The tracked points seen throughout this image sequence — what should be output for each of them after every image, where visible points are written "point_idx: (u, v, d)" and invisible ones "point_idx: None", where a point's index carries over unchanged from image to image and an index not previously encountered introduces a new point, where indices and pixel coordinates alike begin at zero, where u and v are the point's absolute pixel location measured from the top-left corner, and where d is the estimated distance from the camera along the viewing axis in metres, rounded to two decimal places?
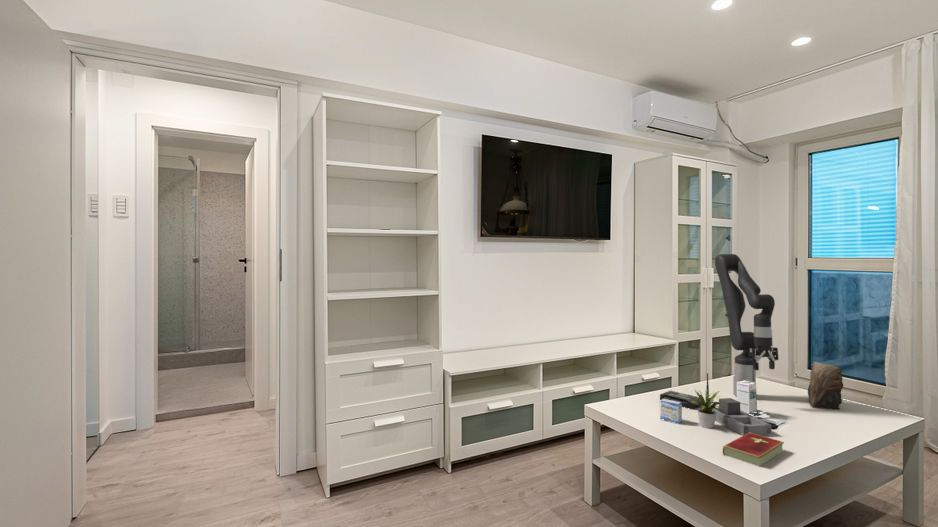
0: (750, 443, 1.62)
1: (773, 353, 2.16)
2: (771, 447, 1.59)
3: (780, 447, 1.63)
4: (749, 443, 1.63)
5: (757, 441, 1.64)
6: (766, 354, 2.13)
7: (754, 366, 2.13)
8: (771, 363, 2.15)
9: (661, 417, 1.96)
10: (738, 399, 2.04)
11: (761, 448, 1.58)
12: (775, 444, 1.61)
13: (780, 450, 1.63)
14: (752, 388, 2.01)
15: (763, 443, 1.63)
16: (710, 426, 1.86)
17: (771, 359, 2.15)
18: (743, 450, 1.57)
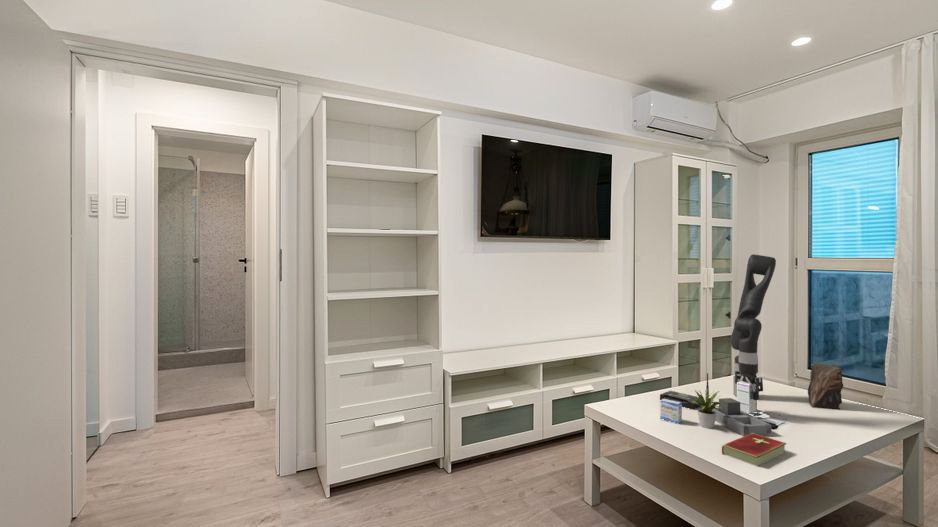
0: (750, 443, 1.62)
1: (738, 377, 2.09)
2: (771, 447, 1.59)
3: (782, 448, 1.62)
4: (749, 443, 1.63)
5: (758, 441, 1.64)
6: None
7: (757, 396, 1.98)
8: None
9: (661, 417, 1.96)
10: (738, 399, 2.04)
11: (761, 449, 1.58)
12: (776, 445, 1.61)
13: (782, 451, 1.62)
14: None
15: (764, 443, 1.62)
16: (710, 426, 1.86)
17: None
18: (741, 450, 1.57)
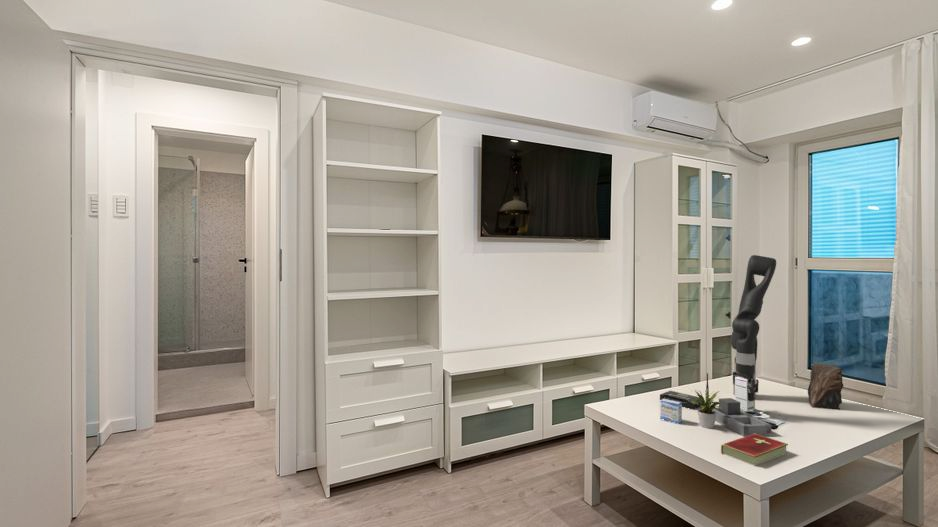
0: (750, 444, 1.62)
1: None
2: (771, 448, 1.59)
3: (783, 449, 1.61)
4: (749, 443, 1.63)
5: (759, 442, 1.63)
6: None
7: (752, 397, 2.00)
8: None
9: (661, 417, 1.96)
10: (736, 394, 2.05)
11: (761, 449, 1.58)
12: (777, 446, 1.60)
13: (783, 452, 1.61)
14: (750, 384, 2.02)
15: (765, 444, 1.62)
16: (710, 426, 1.86)
17: None
18: (740, 449, 1.58)
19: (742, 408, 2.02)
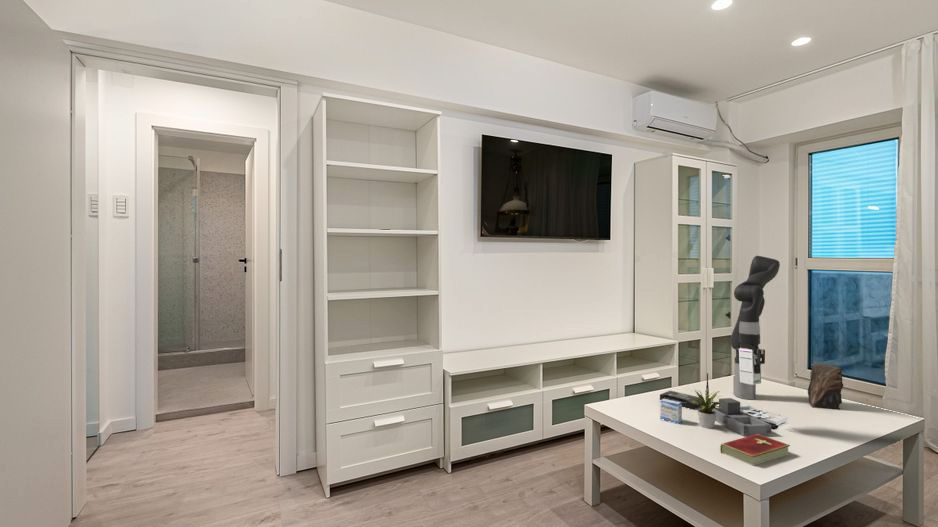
0: (751, 444, 1.62)
1: None
2: (771, 448, 1.58)
3: (785, 450, 1.61)
4: (750, 443, 1.63)
5: (760, 442, 1.63)
6: None
7: (758, 369, 1.84)
8: None
9: (661, 417, 1.96)
10: (741, 367, 1.89)
11: (760, 449, 1.58)
12: (778, 446, 1.60)
13: (785, 453, 1.61)
14: (756, 355, 1.86)
15: (765, 444, 1.61)
16: (710, 426, 1.86)
17: None
18: (739, 449, 1.58)
19: (748, 382, 1.87)
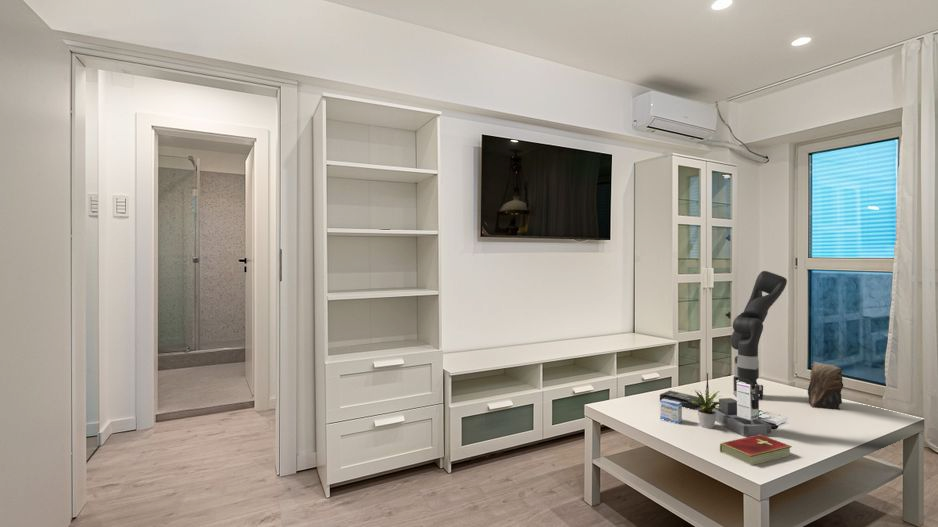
0: (751, 444, 1.62)
1: None
2: (772, 449, 1.58)
3: (786, 451, 1.60)
4: (750, 443, 1.63)
5: (760, 442, 1.63)
6: None
7: (756, 405, 1.79)
8: None
9: (661, 417, 1.96)
10: (738, 401, 1.84)
11: (760, 449, 1.58)
12: (779, 447, 1.59)
13: (786, 454, 1.60)
14: (754, 390, 1.81)
15: (766, 445, 1.61)
16: (710, 426, 1.86)
17: None
18: (738, 448, 1.58)
19: (745, 417, 1.82)
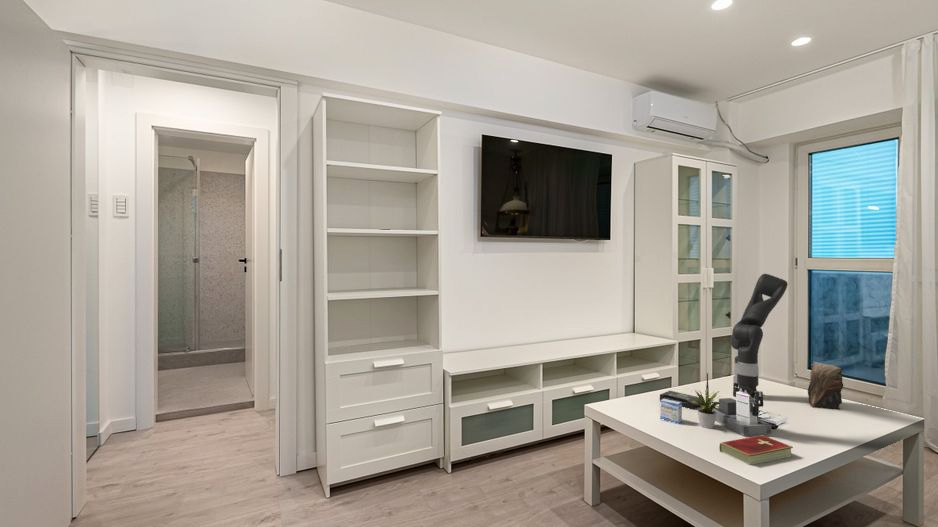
0: (751, 444, 1.62)
1: (737, 390, 1.89)
2: (772, 449, 1.58)
3: (787, 451, 1.59)
4: (750, 443, 1.63)
5: (761, 443, 1.62)
6: None
7: (757, 412, 1.79)
8: None
9: (661, 417, 1.96)
10: (737, 411, 1.85)
11: (760, 449, 1.58)
12: (779, 448, 1.59)
13: (787, 454, 1.59)
14: None
15: (767, 445, 1.61)
16: (710, 426, 1.86)
17: None
18: (737, 448, 1.59)
19: None
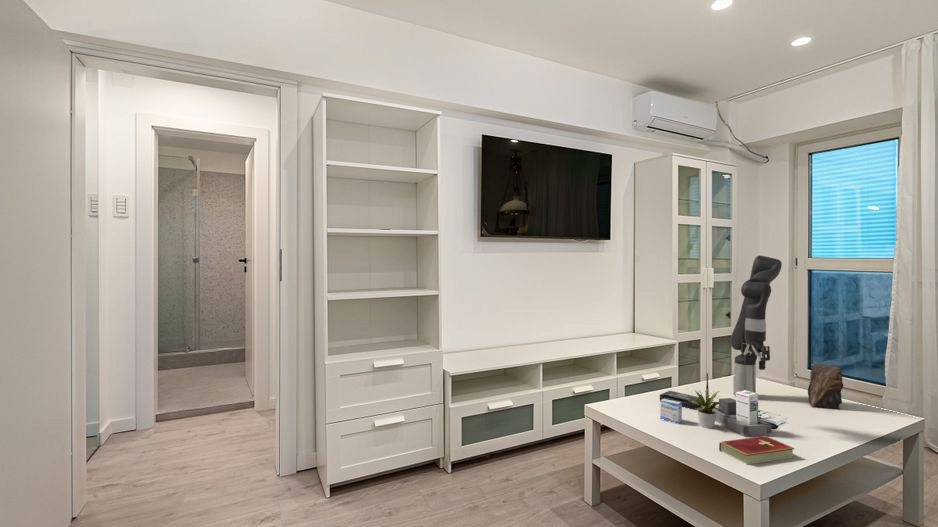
0: (752, 444, 1.62)
1: (745, 346, 1.95)
2: (772, 449, 1.57)
3: (788, 452, 1.58)
4: (751, 443, 1.63)
5: (762, 443, 1.62)
6: None
7: (763, 366, 1.84)
8: (749, 357, 1.93)
9: (661, 417, 1.96)
10: (737, 411, 1.85)
11: (759, 449, 1.58)
12: (780, 448, 1.58)
13: (788, 455, 1.58)
14: (753, 400, 1.81)
15: (767, 446, 1.60)
16: (710, 426, 1.86)
17: (748, 353, 1.93)
18: (736, 447, 1.59)
19: None
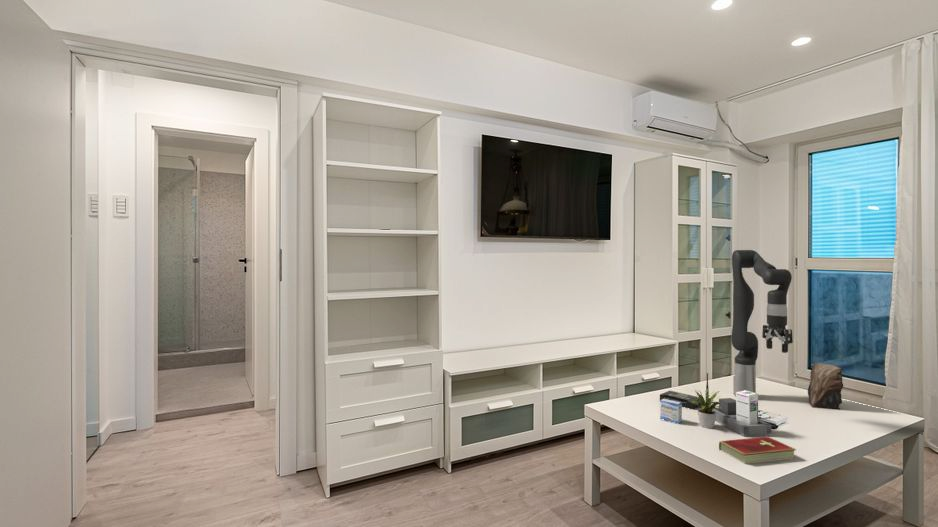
0: (752, 444, 1.62)
1: (766, 331, 2.03)
2: (772, 450, 1.57)
3: (789, 453, 1.58)
4: (751, 443, 1.62)
5: (763, 443, 1.62)
6: None
7: (786, 348, 1.92)
8: (770, 342, 2.01)
9: (661, 417, 1.96)
10: (737, 411, 1.85)
11: (759, 449, 1.57)
12: (780, 449, 1.57)
13: (789, 456, 1.58)
14: (753, 400, 1.81)
15: (768, 446, 1.60)
16: (710, 426, 1.86)
17: (770, 338, 2.02)
18: (735, 447, 1.59)
19: None
